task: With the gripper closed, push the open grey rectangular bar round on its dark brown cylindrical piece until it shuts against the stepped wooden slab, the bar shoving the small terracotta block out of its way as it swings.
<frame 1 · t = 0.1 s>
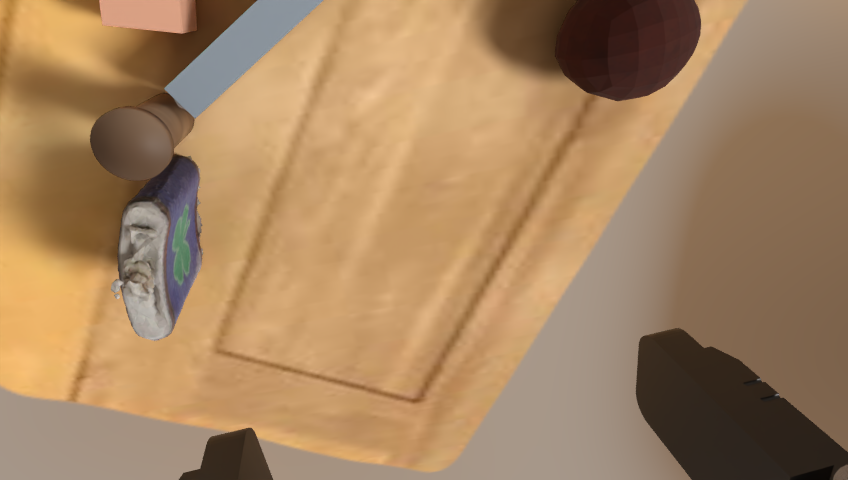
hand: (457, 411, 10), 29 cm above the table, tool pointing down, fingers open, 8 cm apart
dark maroon ball: (596, 33, 37), on the table
grey rectangular bar: (270, 20, 30), point 2 cm above the table, hinge at -55.0°
flask: (182, 215, 37), on the table
dark brown cylindrical piece: (169, 116, 34), on the table
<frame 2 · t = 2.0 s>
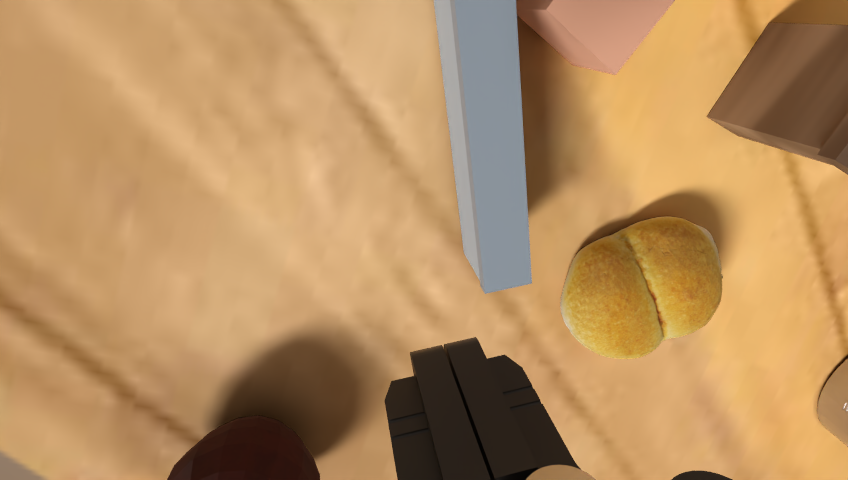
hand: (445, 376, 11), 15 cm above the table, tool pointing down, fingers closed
bread roll: (627, 276, 30), on the table
dark maroon ball: (253, 442, 30), on the table
grey rectangular bar: (480, 122, 22), point 2 cm above the table, hinge at -55.0°
stepped wooden slab: (753, 81, 26), on the table
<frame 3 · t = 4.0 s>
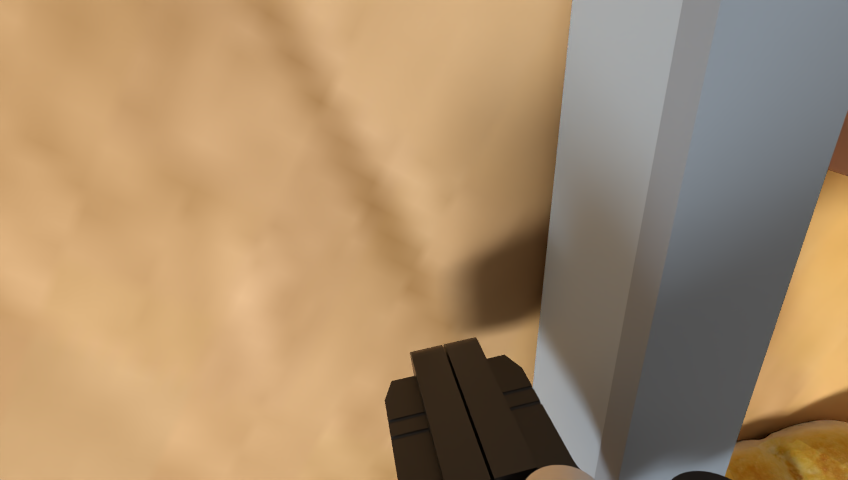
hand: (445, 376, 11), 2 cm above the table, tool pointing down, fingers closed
grey rectangular bar: (638, 259, 10), point 2 cm above the table, hinge at -53.3°, touching gripper
block: (822, 28, 11), on the table
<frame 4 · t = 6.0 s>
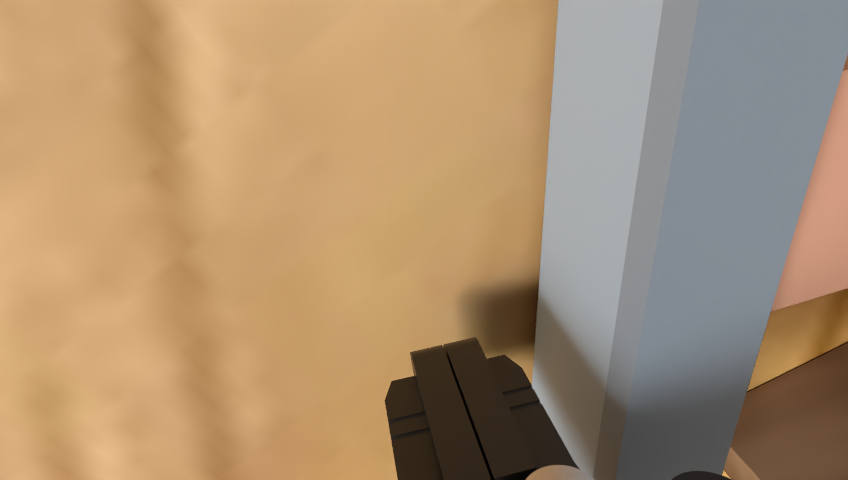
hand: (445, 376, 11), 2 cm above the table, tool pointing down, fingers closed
grey rectangular bar: (631, 259, 10), point 2 cm above the table, hinge at -24.3°, touching block, gripper
block: (718, 126, 12), on the table, touching grey rectangular bar
stepped wooden slab: (780, 403, 16), on the table
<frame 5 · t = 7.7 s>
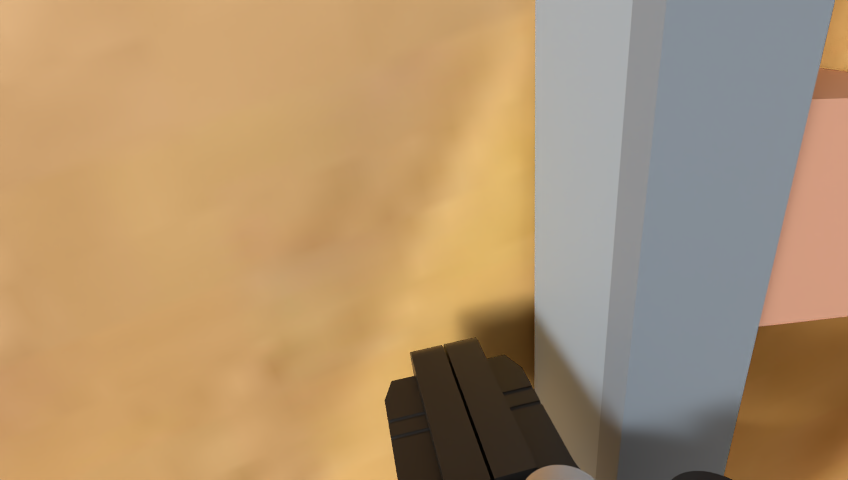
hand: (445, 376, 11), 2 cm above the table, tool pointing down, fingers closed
grey rectangular bar: (622, 260, 10), point 2 cm above the table, hinge at -2.3°, touching block, gripper
block: (695, 155, 12), on the table, touching grey rectangular bar
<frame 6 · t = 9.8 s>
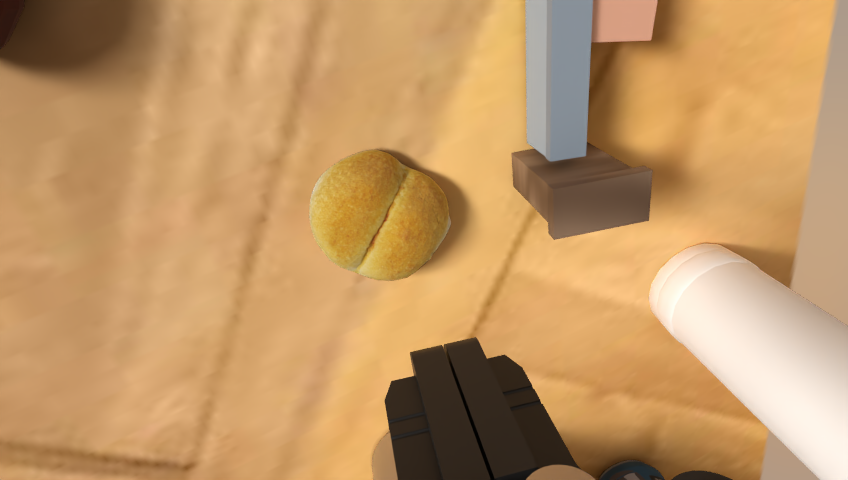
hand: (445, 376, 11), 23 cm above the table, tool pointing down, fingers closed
bread roll: (379, 210, 35), on the table
grey rectangular bar: (555, 26, 29), point 2 cm above the table, hinge at -1.9°
soda can: (621, 478, 51), on the table
block: (588, 0, 31), on the table
stepped wooden slab: (547, 163, 35), on the table
bottle: (690, 283, 42), on the table
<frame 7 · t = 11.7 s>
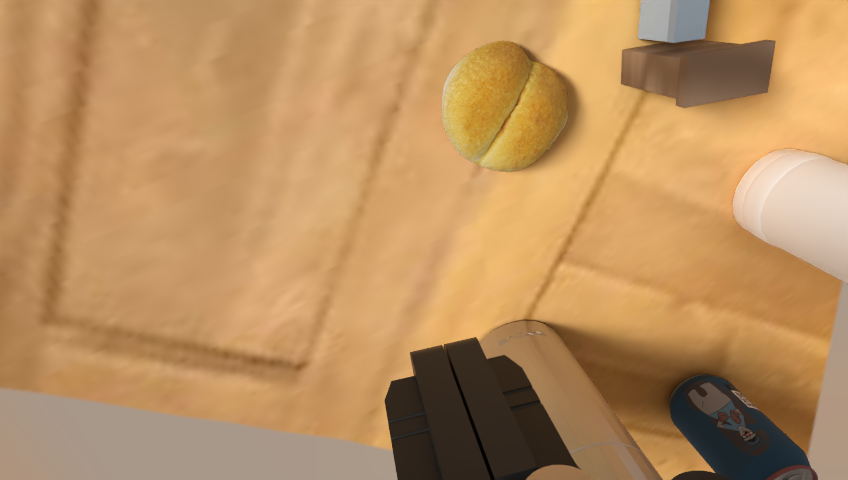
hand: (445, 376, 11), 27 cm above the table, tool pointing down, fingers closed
bread roll: (498, 106, 37), on the table
soda can: (692, 394, 54), on the table
stepped wooden slab: (653, 61, 38), on the table
bottle: (769, 190, 45), on the table
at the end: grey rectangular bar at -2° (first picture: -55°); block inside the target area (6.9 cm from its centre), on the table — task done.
